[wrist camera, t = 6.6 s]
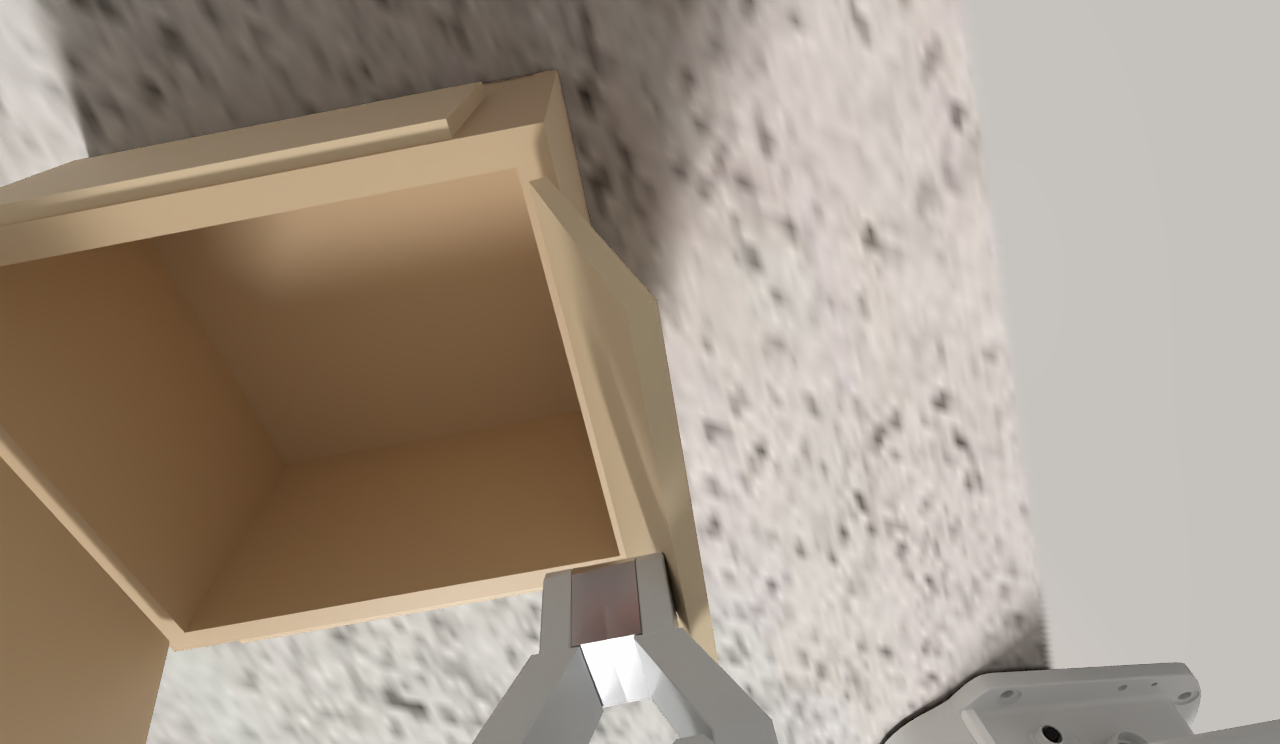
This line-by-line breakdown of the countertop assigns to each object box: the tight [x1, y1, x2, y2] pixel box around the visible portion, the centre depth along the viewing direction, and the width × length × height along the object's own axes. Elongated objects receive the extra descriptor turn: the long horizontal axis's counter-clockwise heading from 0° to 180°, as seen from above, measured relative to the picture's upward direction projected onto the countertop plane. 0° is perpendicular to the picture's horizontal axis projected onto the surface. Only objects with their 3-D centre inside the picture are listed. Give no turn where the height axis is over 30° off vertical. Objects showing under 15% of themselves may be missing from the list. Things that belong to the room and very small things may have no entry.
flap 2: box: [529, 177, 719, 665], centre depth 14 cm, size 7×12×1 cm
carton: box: [0, 69, 626, 652], centre depth 21 cm, size 16×15×9 cm
